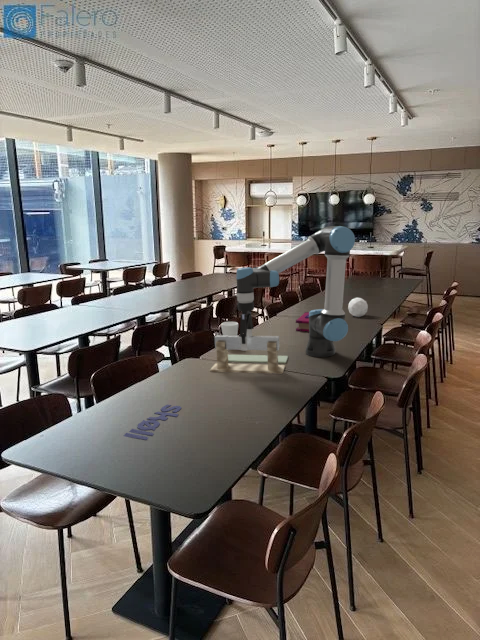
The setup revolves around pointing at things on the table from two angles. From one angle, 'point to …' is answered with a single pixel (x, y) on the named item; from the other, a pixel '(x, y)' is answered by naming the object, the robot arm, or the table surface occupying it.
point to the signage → (156, 423)
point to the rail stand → (247, 368)
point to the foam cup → (229, 328)
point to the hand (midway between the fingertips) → (247, 346)
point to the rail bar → (252, 342)
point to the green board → (254, 358)
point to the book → (303, 322)
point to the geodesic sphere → (357, 307)
